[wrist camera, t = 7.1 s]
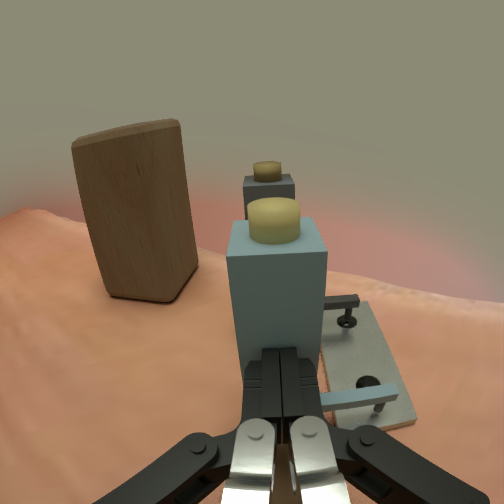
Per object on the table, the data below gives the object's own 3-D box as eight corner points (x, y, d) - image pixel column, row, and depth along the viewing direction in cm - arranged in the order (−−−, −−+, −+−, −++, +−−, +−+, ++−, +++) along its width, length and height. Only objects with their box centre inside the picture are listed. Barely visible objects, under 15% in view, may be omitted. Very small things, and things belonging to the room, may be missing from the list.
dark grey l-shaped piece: (408, 512, 10) (582, 318, 3) (250, 535, 11) (177, 397, 4) (346, 309, 30) (358, 156, 23) (256, 314, 31) (244, 158, 24)
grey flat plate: (414, 423, 17) (418, 417, 16) (337, 439, 17) (339, 433, 16) (366, 307, 30) (367, 300, 30) (311, 311, 30) (312, 304, 30)
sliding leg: (394, 426, 16) (470, 216, 9) (252, 442, 16) (221, 223, 10) (382, 389, 19) (430, 191, 12) (253, 401, 19) (231, 195, 13)
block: (173, 306, 33) (139, 122, 24) (105, 298, 35) (66, 140, 26) (201, 264, 42) (182, 116, 33) (141, 261, 43) (116, 129, 35)
